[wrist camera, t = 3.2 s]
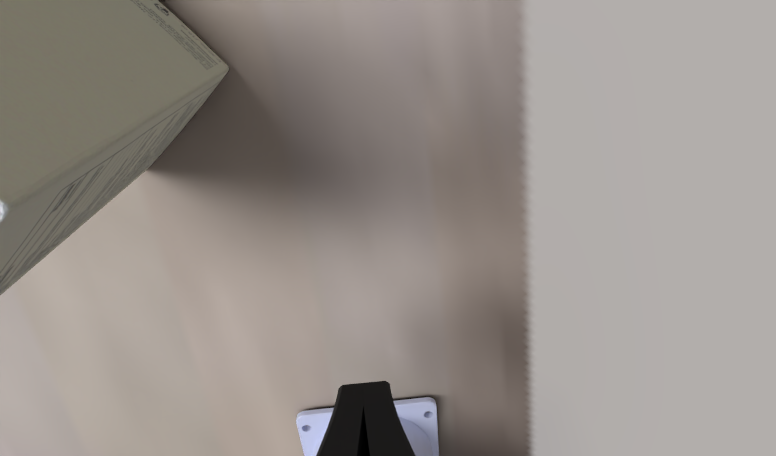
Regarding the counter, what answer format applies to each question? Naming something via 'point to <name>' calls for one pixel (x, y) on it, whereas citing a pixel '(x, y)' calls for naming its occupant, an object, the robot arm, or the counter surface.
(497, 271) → the counter surface
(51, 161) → the skincare box
